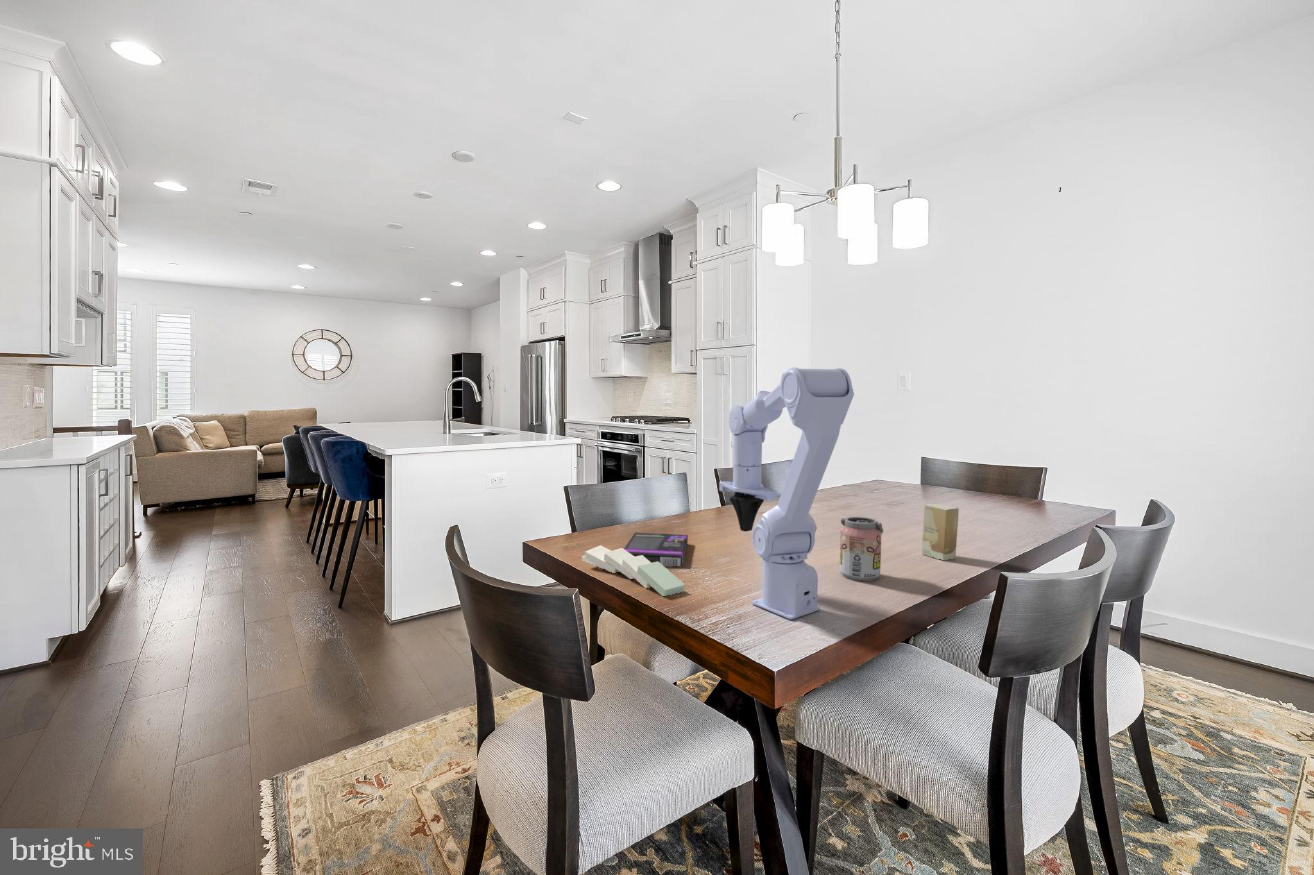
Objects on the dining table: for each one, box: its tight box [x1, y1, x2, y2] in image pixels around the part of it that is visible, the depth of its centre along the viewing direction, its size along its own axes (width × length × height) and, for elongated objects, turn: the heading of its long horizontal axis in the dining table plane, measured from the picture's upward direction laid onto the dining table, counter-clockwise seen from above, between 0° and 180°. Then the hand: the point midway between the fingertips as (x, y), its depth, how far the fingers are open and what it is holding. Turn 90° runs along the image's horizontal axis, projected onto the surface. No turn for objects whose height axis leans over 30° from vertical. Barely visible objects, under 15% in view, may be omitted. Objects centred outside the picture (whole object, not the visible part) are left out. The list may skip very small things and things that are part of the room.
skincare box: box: [921, 503, 960, 561], centre depth 132 cm, size 6×4×12 cm
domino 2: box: [584, 544, 621, 574], centre depth 124 cm, size 2×5×9 cm
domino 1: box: [581, 555, 604, 570], centre depth 128 cm, size 2×5×9 cm
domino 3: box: [604, 547, 636, 580], centre depth 120 cm, size 2×5×9 cm
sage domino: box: [637, 562, 686, 597], centre depth 111 cm, size 2×5×9 cm
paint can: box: [839, 516, 884, 582], centre depth 119 cm, size 9×8×12 cm
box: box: [623, 531, 689, 567], centre depth 135 cm, size 14×4×20 cm
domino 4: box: [622, 555, 653, 589], centre depth 115 cm, size 2×5×9 cm
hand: (746, 530), depth 115 cm, fingers closed
